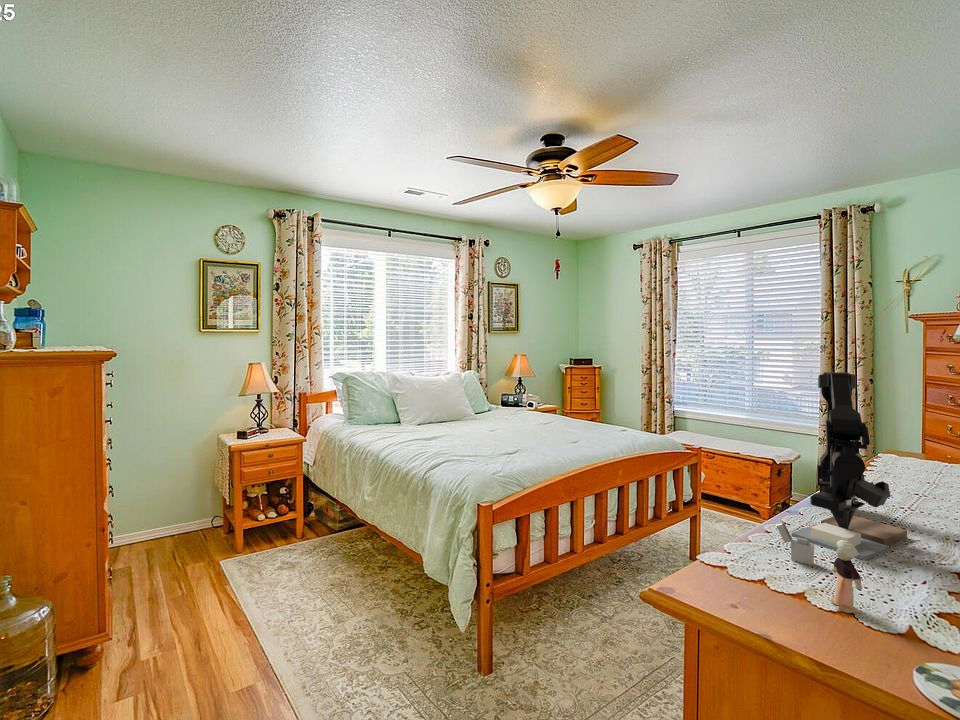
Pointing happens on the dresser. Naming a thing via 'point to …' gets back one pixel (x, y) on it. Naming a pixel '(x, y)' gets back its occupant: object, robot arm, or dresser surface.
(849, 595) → the grandmother figurine
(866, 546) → the mat
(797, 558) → the lighter
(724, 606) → the dresser surface
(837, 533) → the tile
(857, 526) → the board
